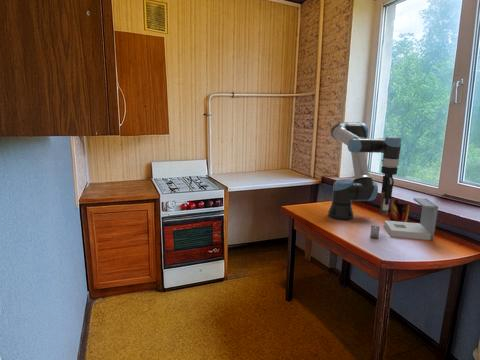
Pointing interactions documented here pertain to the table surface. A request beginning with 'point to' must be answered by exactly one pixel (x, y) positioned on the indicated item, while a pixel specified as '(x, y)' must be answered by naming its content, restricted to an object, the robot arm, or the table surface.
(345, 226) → the table surface
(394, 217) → the mug
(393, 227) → the socket block
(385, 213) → the walnut dowel
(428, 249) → the table surface
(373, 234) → the cylinder
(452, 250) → the table surface
